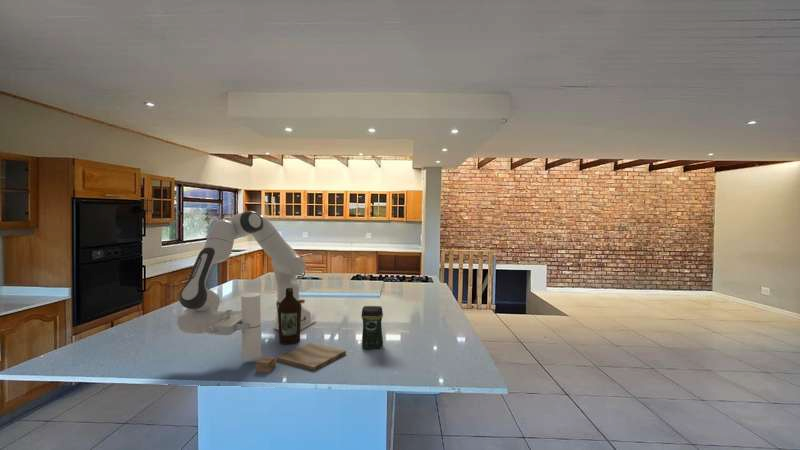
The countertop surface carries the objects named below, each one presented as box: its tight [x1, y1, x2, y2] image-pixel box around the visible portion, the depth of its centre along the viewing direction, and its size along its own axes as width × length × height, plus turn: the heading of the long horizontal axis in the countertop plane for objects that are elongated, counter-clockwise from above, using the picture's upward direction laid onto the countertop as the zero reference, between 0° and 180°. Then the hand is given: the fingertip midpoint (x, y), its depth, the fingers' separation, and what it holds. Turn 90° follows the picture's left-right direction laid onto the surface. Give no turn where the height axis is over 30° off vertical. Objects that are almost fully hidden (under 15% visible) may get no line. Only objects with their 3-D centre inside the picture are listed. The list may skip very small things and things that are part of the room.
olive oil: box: [278, 288, 302, 345], centre depth 179 cm, size 11×11×25 cm
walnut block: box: [255, 356, 277, 374], centre depth 147 cm, size 5×5×4 cm
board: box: [276, 342, 347, 372], centre depth 159 cm, size 20×20×2 cm
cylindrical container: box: [240, 292, 262, 361], centre depth 154 cm, size 7×7×25 cm
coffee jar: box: [360, 305, 384, 350], centre depth 172 cm, size 10×8×19 cm
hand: (253, 323), depth 154 cm, fingers closed on cylindrical container, 7 cm apart
